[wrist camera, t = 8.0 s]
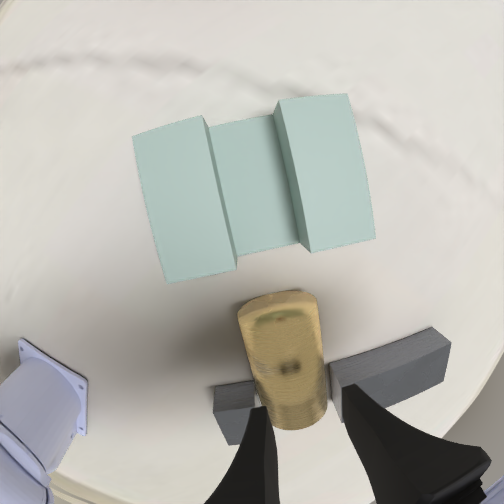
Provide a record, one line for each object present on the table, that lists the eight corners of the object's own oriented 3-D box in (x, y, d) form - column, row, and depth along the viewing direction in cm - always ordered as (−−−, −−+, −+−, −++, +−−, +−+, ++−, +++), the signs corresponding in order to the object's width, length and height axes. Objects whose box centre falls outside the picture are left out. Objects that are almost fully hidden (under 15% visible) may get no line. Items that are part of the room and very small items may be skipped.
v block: (346, 226, 16) (375, 238, 12) (183, 262, 16) (167, 284, 12) (323, 114, 14) (347, 93, 11) (157, 148, 15) (131, 136, 11)
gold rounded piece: (323, 382, 18) (331, 424, 14) (265, 390, 19) (262, 433, 15) (312, 285, 17) (322, 319, 12) (242, 297, 17) (231, 333, 13)
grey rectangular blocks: (427, 364, 19) (443, 381, 16) (229, 420, 19) (228, 445, 16) (432, 326, 18) (451, 342, 15) (215, 386, 18) (212, 412, 16)
